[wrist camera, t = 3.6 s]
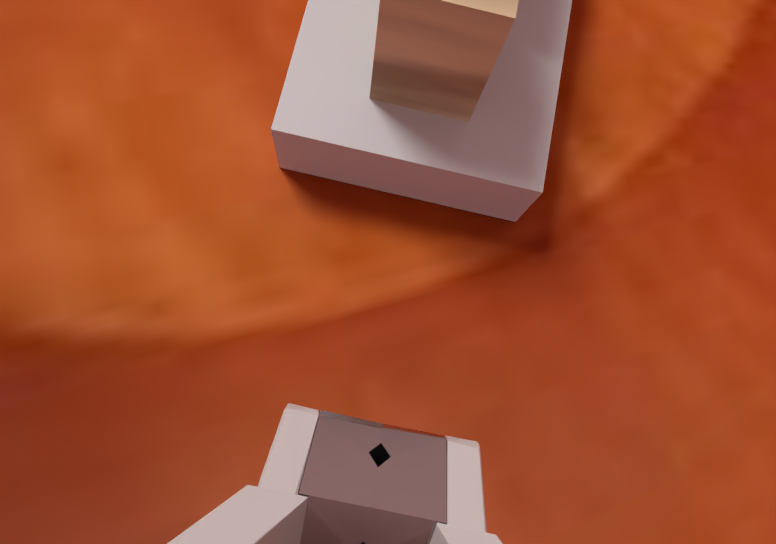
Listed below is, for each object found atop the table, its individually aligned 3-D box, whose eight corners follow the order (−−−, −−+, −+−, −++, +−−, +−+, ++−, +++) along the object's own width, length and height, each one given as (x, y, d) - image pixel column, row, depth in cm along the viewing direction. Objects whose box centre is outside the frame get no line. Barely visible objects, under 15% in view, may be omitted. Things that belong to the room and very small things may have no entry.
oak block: (468, 122, 26) (515, 18, 19) (369, 98, 26) (381, -15, 19) (487, 26, 27) (537, -102, 21) (392, 3, 27) (411, -134, 20)
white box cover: (515, 222, 29) (542, 192, 26) (279, 167, 29) (271, 129, 25) (558, -39, 34) (587, -99, 30) (351, -90, 33) (353, -158, 29)
